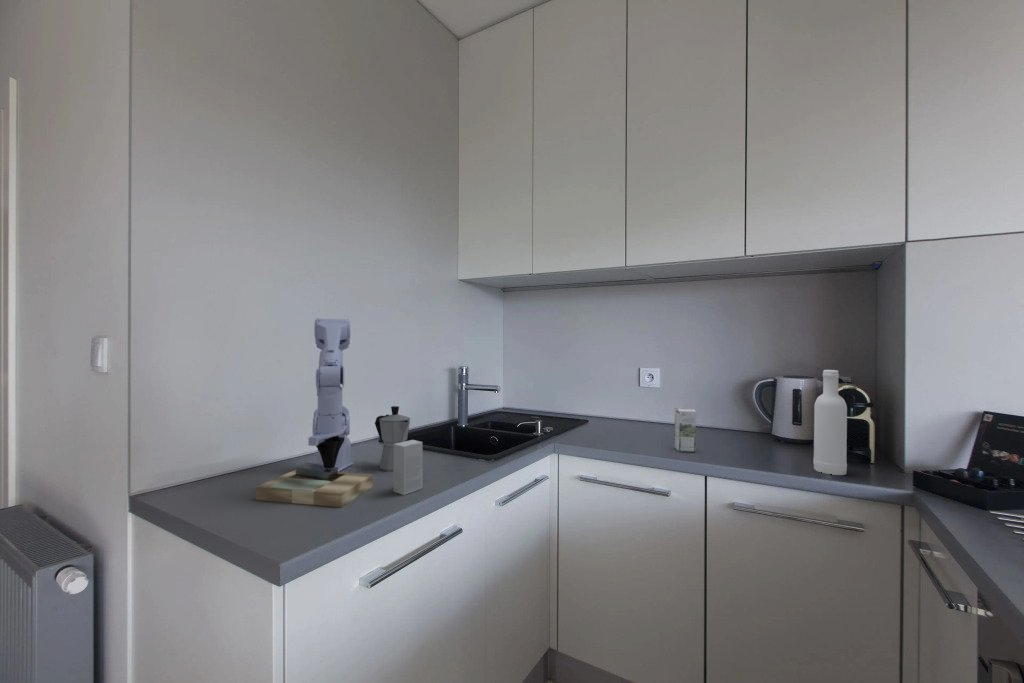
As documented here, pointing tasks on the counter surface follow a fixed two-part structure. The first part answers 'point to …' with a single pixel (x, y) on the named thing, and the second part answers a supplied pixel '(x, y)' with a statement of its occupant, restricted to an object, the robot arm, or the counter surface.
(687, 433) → the syrup box
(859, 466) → the counter surface
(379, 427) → the coffee maker
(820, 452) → the bottle
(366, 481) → the bamboo board
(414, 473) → the skincare box
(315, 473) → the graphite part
